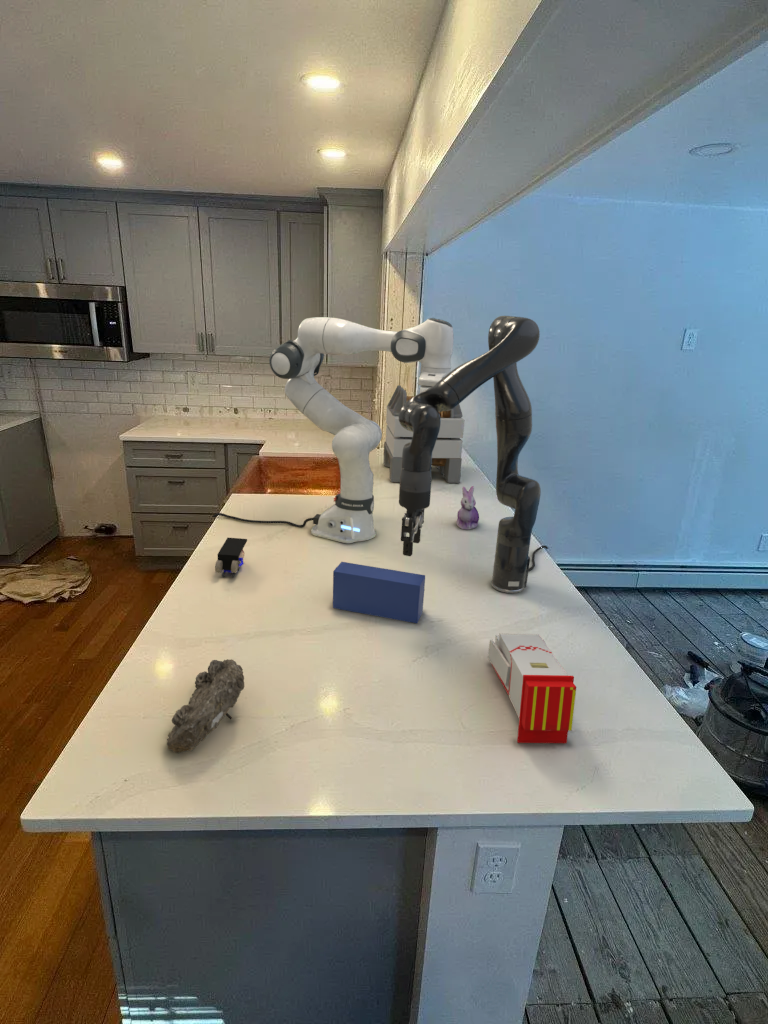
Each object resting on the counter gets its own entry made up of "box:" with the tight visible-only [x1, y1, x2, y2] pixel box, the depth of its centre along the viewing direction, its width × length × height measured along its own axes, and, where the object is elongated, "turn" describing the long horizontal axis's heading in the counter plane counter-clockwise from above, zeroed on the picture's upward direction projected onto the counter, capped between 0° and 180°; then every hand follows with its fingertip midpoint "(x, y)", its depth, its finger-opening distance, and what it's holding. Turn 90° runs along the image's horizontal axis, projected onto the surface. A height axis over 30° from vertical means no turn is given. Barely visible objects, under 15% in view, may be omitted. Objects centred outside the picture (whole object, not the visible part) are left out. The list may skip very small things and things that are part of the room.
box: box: [332, 561, 426, 624], centre depth 147 cm, size 23×6×11 cm, turn 74°
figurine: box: [456, 485, 480, 530], centre depth 208 cm, size 9×10×15 cm
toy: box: [487, 632, 577, 744], centre depth 116 cm, size 12×13×30 cm
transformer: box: [383, 384, 465, 484], centre depth 268 cm, size 34×33×41 cm
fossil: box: [166, 658, 245, 754], centre depth 106 cm, size 22×10×15 cm
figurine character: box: [214, 537, 248, 578], centre depth 166 cm, size 7×8×15 cm
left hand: (430, 423), depth 171 cm, fingers open, 8 cm apart
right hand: (411, 548), depth 141 cm, fingers open, 8 cm apart
